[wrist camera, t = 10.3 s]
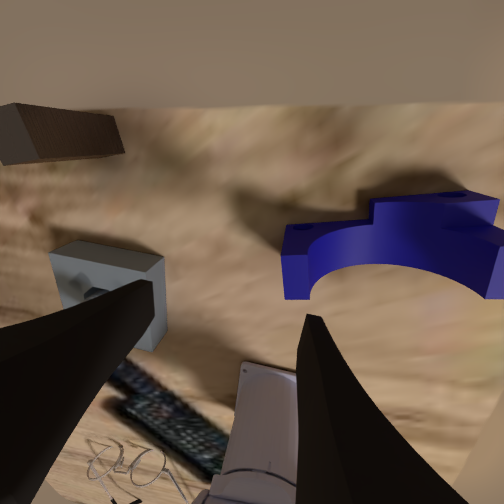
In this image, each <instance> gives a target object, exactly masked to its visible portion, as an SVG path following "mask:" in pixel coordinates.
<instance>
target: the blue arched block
mask: <svg viewBox="0 0 504 504" xmlns="http://www.w3.org/2000/svg"><path fill="white" fill-rule="evenodd" d="M499 201H500V199H497V198H493V197H490V196H487V195H483V194H480V193H476V192H473V191H469V190H466V191H454V192H443V193H431V194H419V195H408V196H396V197H384V198H373V199H370V203H369V219H363V220H349V221H334V222H320V223H305V224H291V225H286V230H285V235H284V241H283V246H282V252H281V264H282V275H283V286H284V297H285V300H310V292H311V289H312V287H313V286H314V284H315V283H316V282H317V281H318V280H319V279H320V278H321V277H323V276H324V275H326V274H328V273H330V272H332V271H334V270H337V269H340V268H344V267H348V266H353V265H361V264H392V265H401V266H407V267H413V268H418V269H422V270H426V271H429V272H433V273H436V274H439V275H442V276H445V277H447V278H450V279H452V280H454V281H457V282H459V283H461V284H463V285H465V286H466V287H468V288H470V289H471V290H473V291H475V292H476V293H478V294H479V295H480V296H482V297H483V298H484V299H504V230H503V229H500V228H498V227H496V226H493V224H494V220H495V216H496V213H497V209H498V205H499Z"/></svg>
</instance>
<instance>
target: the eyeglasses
mask: <svg viewBox="0 0 504 504" xmlns="http://www.w3.org/2000/svg"><path fill="white" fill-rule="evenodd" d="M118 447H119V448H120V446H118ZM109 448H112V446H109V447H107V448H106V449H104V450H103V451H101V452H100V453H99V454H98V455H97V456H96V457H95V458H94V460H89V461H88V462H87V464H88V465H89V468H88V470H87V477H88V478H89V470H90V468H91V470H92V471H93V473H94V474H95V476H96V477H97V478H94V479H92V478H89V480H92V481H95V480H99V482H100V483H101V485H102V487H103V488H104V490H105V491H106V492H107V493H108V495H109V496H110V494H109V492H108V489H107V488H106V486H105V484H104V483H103V481H102V480H101V478H102V477H104V476H105V475H107V474H108V473H109V472H110V471H111V470H112V469H113V468H114V469H113V471H114V473H122V474H129V471H130V470H131V474H130V477H131V481H132V471H133V469H135V468H136V467H137V465H138V464H139V463H140V461H141V460H140V458H141V457H142V456H144V455H145V454H146V453H148V452H151V451H154V450H152V449H147V450H145V451H144V452H142V453H141V454H140V455H139V456H138V457H137V458H136V459H135V460H134V461H133V462H132V464H131V465H130V466H129V467H128V468H129V469H128V471H127V472H121V471H115V469H116V468H117V467H119V466H120V465H121V468H122V465H123V461H124V457H123V459H122V456H123V453H124V449H123V447H122V446H121V448H122V450H121V448H120V455H119V458H118V460H117V461H116V463H115V464H114V465H113V467H112V468H111V469H110V470H109V471H108V472H106V473H105V474H104V475H102V476H99V475H98V473H97V471H96V470H95V468H94V466H93V465H92V464H93V462H94V461H95V460H96V459H97V457H98V456H99V455H100V454H102V453H103V452H104V451H106V450H107V449H109ZM160 452H162V453H163V455H164V457H165V454H164V452H163V451H160ZM121 459H122V461H121ZM119 463H120V465H119ZM121 463H122V464H121ZM165 464H166V457H165V462H164V466H163V468H162V470H161V472H160V474H159V475H158V476H157V477H156V478H155V479H154V480H153V481H151V482H150V483H148V484H145V485H137V484H135V483H134V482H133V481H132V483H133V485H135V486H136V487H146V486H148V485H150V484H152V483H153V482H154V481H156V480H157V479H158V478H159V476H160V475H161V473H162V472H163V473H165V474H167V475H169V477H170V478H171V480H172V482H173V483H174V485H175V486H176V488H177V489H178V491H179V493H180V494H181V496H182V497H183V499H184V501H185V502H186V504H189V503H188V501H187V499H186V497H185V495H184V494H183V492H182V490H181V489H180V487H179V485H178V484H177V482H176V480H175V479H174V477H173V475H172V473H171V472H170V470H169V469H166V468H164V467H165ZM110 500H111V502H112V503H113V504H117V503H116V502H115V500H114V499H113V497H111V496H110ZM141 502H142V501H141V500H140V499H138V500H136V501H134V502H132V503H130V504H139V503H141Z"/></svg>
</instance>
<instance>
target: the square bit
mask: <svg viewBox="0 0 504 504" xmlns="http://www.w3.org/2000/svg"><path fill="white" fill-rule="evenodd" d="M124 153H125V151H124V148H123V144H122V141H121V138H120V135H119V132H118V129H117V126H116V123H115V119H114V116H109V115H101V114H94V113H87V112H79V111H72V110H65V109H57V108H50V107H42V106H35V105H28V104H21V103H11V104H7V105H4V106H0V160H1V162H2V164H3V166H6V165H18V164H31V163H43V162H56V161H68V160H81V159H93V158H102V157H107V156H113V155H119V154H124Z"/></svg>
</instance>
